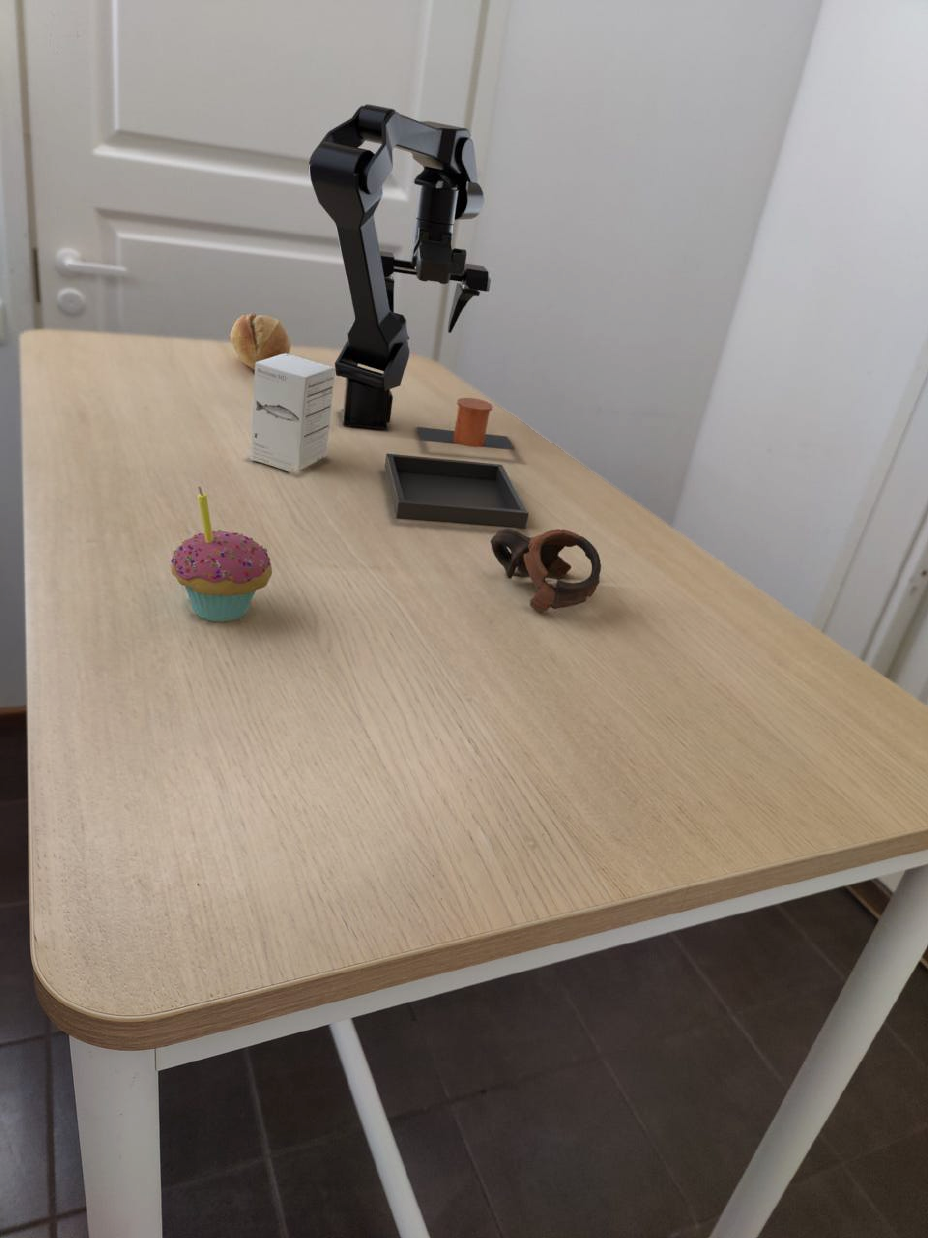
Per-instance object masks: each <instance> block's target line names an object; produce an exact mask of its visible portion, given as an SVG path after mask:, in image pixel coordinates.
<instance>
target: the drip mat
mask: <svg viewBox="0 0 928 1238" xmlns="http://www.w3.org/2000/svg"><path fill="white" fill-rule="evenodd" d="M416 429H417V433H418V436H419V438H420V441H421V442H431V443H441V444H452V445H456V444H455V443H454V442H453V437H454V431H455V430H449V429H440V428H431V427H420V426H417V428H416ZM482 448H490V449H499V450H508V451H509V450H511V451H515V448H514V445H513V444H512V443H511V441H510V439H509V437H508V436H506V435H499V434H488V433H486V436H485V441H484V446H483V447H482Z"/></svg>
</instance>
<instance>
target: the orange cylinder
mask: <svg viewBox="0 0 928 1238" xmlns="http://www.w3.org/2000/svg"><path fill="white" fill-rule="evenodd" d="M456 405H457V406H458V408H457V414H456V420H455V426H454V430H453V431H454V437H453V442H454V443H455V444H454V445H462V446H466V447H473V448H475V447H477V448H478V447H480V448H484V447H483V446H484V441H485V436H486V434H487V429H488V425H489V419H490V413H491V412H492V411H493V410H494V409H493V408H494V406H493V404H491V402H488V401H486V400H483V399H479V398H473V397H460V398H458V399H457V401H456Z"/></svg>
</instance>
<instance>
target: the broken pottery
mask: <svg viewBox="0 0 928 1238" xmlns="http://www.w3.org/2000/svg"><path fill="white" fill-rule="evenodd" d="M490 545H491V550H492V553H493V555H494V557H495V559H496V560H497V561H498V563H499V564H500V565H501V566H502V567H503V568H504V571H505V575H506V576H507V579H512V578H513V576H514V574H515V573H516V571H518V572H523V571H527V573H528V575H529V578H530V580H531V582H532V584H533V585H534V587H535V588H536V589H537V591H536V593H535V595H534V596H533V597H532V598H531V599H530V601H529V606H530V607H531V608H532V609H533V610H535V611H536V612H537V613H538V614H543V613H544V612H547V611H548V610H549V609H550V608H551V609H552V610H558V609H564V608H569V607H574V606H577V605H579V604H582V603H585V602H586V601H587V597H588V598H590V597H592V596H593V594H595V591H596V590H597V588H598V586H599V584H600V582H601V581H600V579H601V575H600V574H601V571H602V563H601V558H600V554H599V552H598V550H597V548H595V546H594V545H593V544H592V543H591V542H590V541H589V540H588V539H587V538H586V537H584V536H583V535H580V534H579V533H576V532H574V531H571V530H567V529H559V528H557V529H550V530H547V531H545V532H543V533H541V534H538V535H535V536H531V537H529V536H527V535H525V534H523V533H521V532H520V531H518V530H515V529H513V528H503V529H502V528H501V529H499V530H498V531H497V532H496V533H495V534H494V535H493V536H492V537H491V539H490ZM576 546H577V547H578V548H579V549H581V550H582V551H583V553H584V556H585V557H586V559H588V560H589V561H590V564H591V572H590V575H589V576H588V577H587V578H586V579H584V580H581V581H579V582H567V581H563V578H560V579H557V580H556V583H555V586H553V585H552V584H550V583H549V582H548V581H547V580H546V579H547V577H548V576H549V575H550V573H549V571H552V572H556V573H559V574H561V575H567V574H568V572H569V571H570V570H571V569H572V565H571V564H570V563H568V562H567V561H565V560H564V559H563V558H562V557H561V556H559V554H560V553H561V551H562V550H564V549H565V547H566V548H573V547H576ZM548 570H549V571H548ZM517 577H519V575H517Z"/></svg>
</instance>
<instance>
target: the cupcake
mask: <svg viewBox="0 0 928 1238" xmlns="http://www.w3.org/2000/svg"><path fill="white" fill-rule="evenodd" d="M197 488H198V492H199V494H198V496H197V497H198V503H199V509H200V516H201V522H202V529H203V532H202V533H201V532H199V533H197V534H194V535H193V536H191V537H189V538H187V539H184V541H182V542H181V544H180V545H179V546H177V547H176V549H175V550H174V551H173V555H172V559H171V574H172V575H173V576H174V577H175V579H176V581H177V582H178V584H179V585H181V586H184V589H185V590H186V593H187V595H188V598H189V600H190V603H191V607H192V610H193V613H195V614H196V615H197V616H199V617H200V618H202V619H204V620H207V621H211V622H219V623H220V622H221V623H222V622H231V621H235V620H238V619H240V618H242V617H243V616H245V614H246V613H247V612H248V609H249V607H250V605H251V602H252V600H253V598H254V595H255V593H256V591H259V590H260V589H263V588H266V586H267V585H268V583H269V581H270V579H271V577H272V574H273V568H272V562H271V558H270V556H269V555H268V553H267V552H268V551H267V548H265V547H264V546H263V545H260V544H259V543H258V542H256V541H255V540H254V539H253V537H248V536H246V535H244V534H243V533H239V532H231V531H227V530H226V531H225V530H222V529H218V530H217V531H216V530H213V529H212V522H211V516H210V510H209V504H208V496H207V494H206V493H203V489H202V487H201V486H200V485H199V486H197ZM263 547H264V548H263Z"/></svg>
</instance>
